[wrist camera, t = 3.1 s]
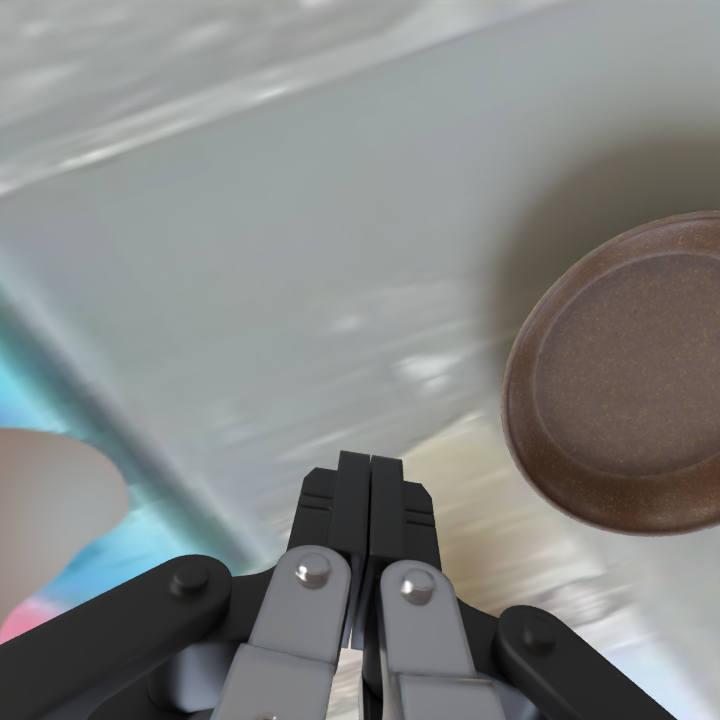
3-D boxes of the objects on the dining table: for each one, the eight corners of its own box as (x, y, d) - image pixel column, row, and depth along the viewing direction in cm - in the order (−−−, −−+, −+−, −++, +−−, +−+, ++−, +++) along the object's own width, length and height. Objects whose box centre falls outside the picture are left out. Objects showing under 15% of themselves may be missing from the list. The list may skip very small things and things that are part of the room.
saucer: (900, 317, 24) (961, 337, 22) (666, 549, 29) (693, 587, 26) (633, 131, 22) (665, 129, 19) (429, 415, 27) (433, 443, 24)
